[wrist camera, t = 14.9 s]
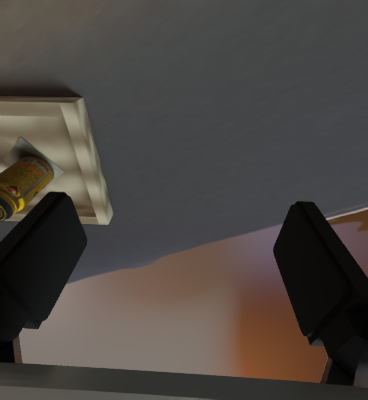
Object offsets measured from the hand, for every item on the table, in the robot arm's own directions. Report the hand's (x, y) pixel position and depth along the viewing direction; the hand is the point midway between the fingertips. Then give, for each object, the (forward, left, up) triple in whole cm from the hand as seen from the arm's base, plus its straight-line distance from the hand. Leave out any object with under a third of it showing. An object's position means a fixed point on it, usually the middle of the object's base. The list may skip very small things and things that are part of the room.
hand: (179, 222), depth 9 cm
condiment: (+13, -29, -28) cm, 42 cm away
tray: (+13, -29, -28) cm, 42 cm away
